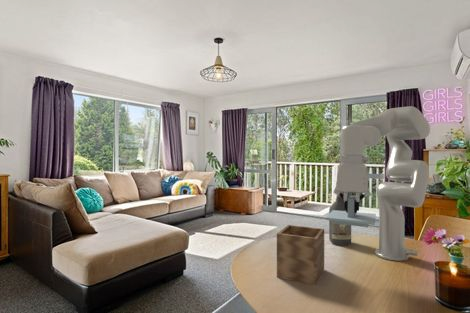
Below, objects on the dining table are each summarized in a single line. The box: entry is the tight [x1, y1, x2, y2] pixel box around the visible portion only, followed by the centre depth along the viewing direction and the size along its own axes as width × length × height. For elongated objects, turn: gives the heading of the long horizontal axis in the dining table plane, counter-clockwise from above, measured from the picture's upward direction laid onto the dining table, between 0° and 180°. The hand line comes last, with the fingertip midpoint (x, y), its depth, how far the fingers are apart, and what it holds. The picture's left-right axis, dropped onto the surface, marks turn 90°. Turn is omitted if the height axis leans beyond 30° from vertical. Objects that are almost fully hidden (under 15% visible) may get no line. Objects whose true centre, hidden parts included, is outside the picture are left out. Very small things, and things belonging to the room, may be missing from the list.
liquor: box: [328, 181, 352, 247], centre depth 140 cm, size 9×9×30 cm
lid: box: [325, 195, 377, 228], centre depth 101 cm, size 15×15×9 cm
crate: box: [276, 224, 325, 286], centre depth 105 cm, size 14×14×16 cm
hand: (351, 211), depth 101 cm, fingers closed on lid
